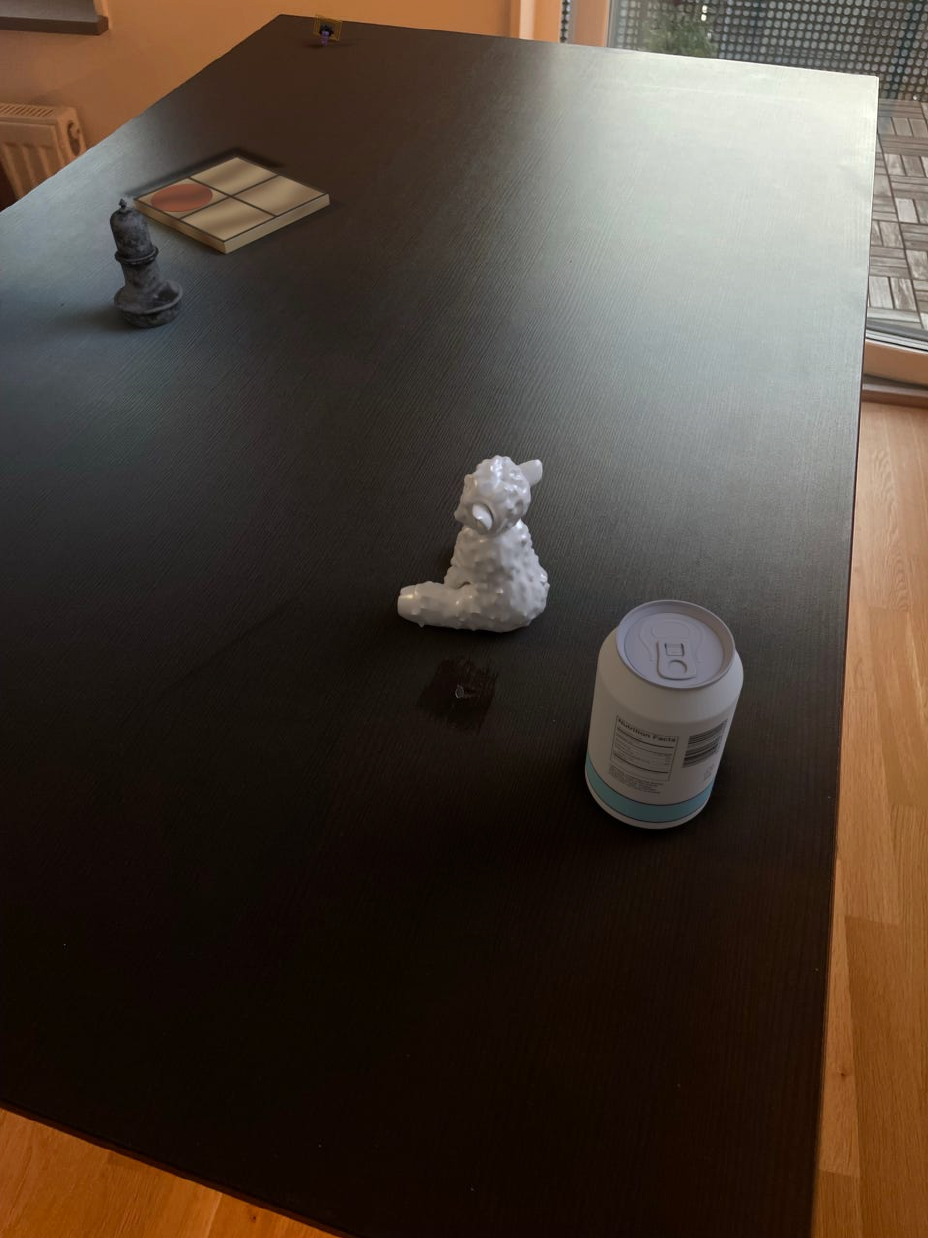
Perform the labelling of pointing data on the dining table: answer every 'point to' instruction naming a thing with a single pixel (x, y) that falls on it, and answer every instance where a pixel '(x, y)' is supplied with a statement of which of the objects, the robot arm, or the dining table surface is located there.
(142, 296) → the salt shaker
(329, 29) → the framed picture
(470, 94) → the dining table surface
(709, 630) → the beverage can
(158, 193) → the board
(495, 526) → the white creature statuette
